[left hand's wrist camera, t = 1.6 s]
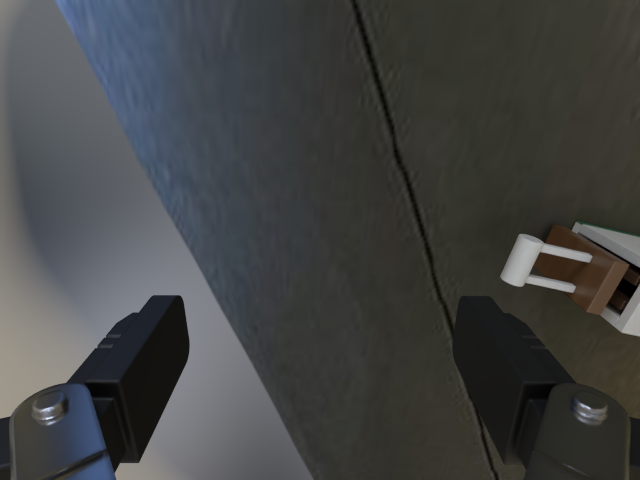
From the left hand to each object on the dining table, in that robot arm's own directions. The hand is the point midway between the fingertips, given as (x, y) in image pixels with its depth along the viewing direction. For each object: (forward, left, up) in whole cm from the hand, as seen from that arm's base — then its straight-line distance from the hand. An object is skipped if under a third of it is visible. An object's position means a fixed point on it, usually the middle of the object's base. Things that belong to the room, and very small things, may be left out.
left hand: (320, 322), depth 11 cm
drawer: (-12, +24, -23) cm, 35 cm away
